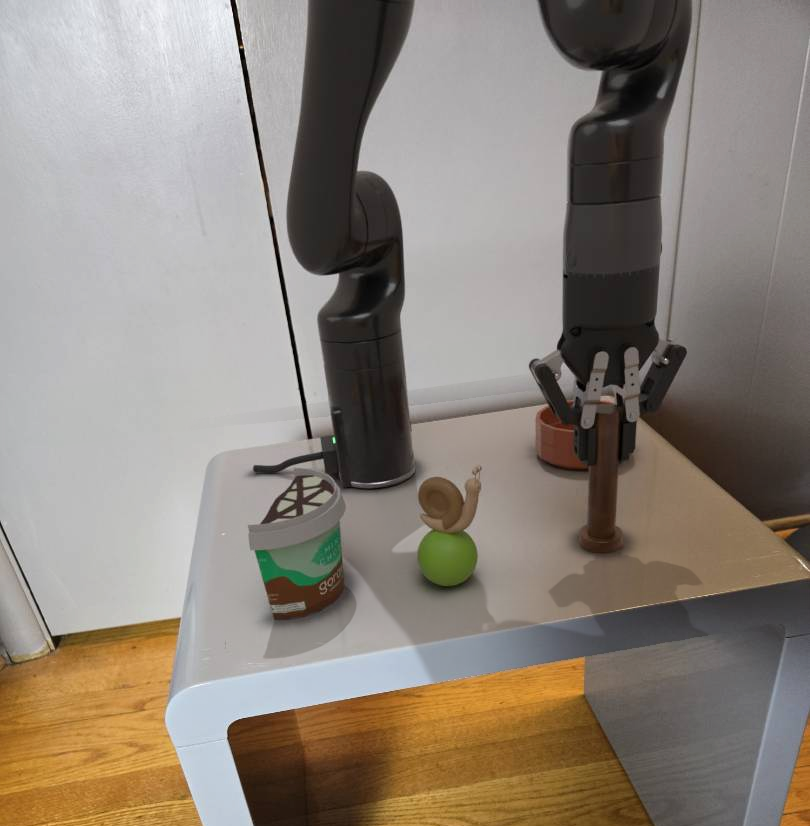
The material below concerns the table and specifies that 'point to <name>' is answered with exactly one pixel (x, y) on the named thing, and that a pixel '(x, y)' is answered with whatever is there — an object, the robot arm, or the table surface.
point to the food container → (301, 546)
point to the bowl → (557, 439)
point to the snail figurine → (448, 530)
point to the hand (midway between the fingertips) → (603, 459)
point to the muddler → (604, 484)
